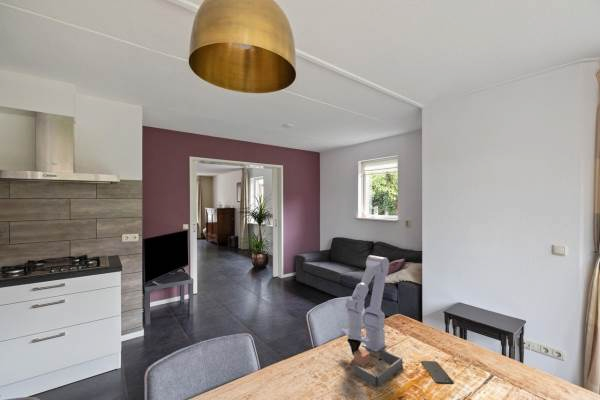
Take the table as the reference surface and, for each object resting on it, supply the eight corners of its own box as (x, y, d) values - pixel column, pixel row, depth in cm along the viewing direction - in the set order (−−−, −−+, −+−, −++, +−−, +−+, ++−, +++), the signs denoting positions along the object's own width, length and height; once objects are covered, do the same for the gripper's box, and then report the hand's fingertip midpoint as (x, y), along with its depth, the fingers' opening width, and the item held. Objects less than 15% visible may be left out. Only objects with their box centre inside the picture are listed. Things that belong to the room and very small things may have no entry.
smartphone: (436, 360, 120) (455, 382, 105) (436, 362, 120) (455, 384, 105) (419, 360, 120) (435, 382, 105) (419, 362, 120) (435, 384, 105)
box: (380, 356, 124) (380, 348, 124) (402, 366, 116) (402, 358, 116) (354, 373, 111) (354, 365, 111) (377, 387, 103) (377, 377, 103)
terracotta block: (360, 357, 124) (360, 348, 124) (370, 361, 120) (369, 352, 120) (353, 361, 120) (353, 352, 120) (363, 366, 116) (363, 356, 117)
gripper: (337, 321, 126) (337, 351, 126) (362, 333, 115) (362, 365, 115) (346, 317, 131) (346, 346, 130) (372, 328, 120) (372, 358, 120)
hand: (354, 354), depth 123 cm, fingers closed
